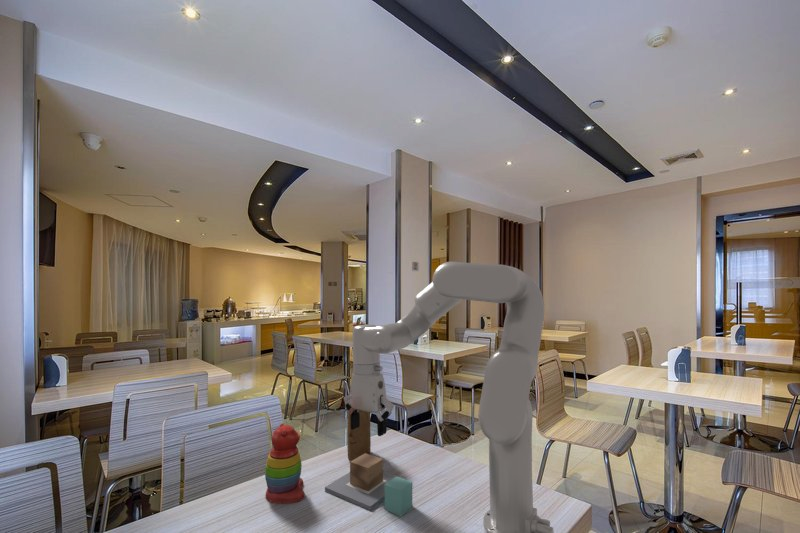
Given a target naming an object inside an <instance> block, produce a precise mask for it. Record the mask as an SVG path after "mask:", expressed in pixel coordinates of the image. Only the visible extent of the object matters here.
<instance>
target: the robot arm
mask: <svg viewBox="0 0 800 533" xmlns="http://www.w3.org/2000/svg"><path fill="white" fill-rule="evenodd" d="M465 300H466V301H475V302H486V303H491V304H492V303H493V304H494V303H495V304H504V303H505V304H506V314H505V318H504V322H503V331H502V336H501V341H500V345H499V346H498V349H497V350H495V351H494V352H493V353H492V354H491V355H490V357H489V359H488V361H487V363H486V367H485V371H484V377H483V382H482V389H481V395H480V398H479V399H480V401H479V406H478V418H477V419H478V424H479V427H480V429H481V432H482V433H483V435H484V436H485V437H486V438H487V440H488V462H489V463H488V467H489V468H488V469H489V474H488V475H489V476H488V477H489V510H488V511H486V512H485V514H484V515H483V527H484V530H485V531H486V533H554V527H552V526H551V521H550V520H548V519H544V518H541V517H540V515H538V509H537V508H536V507H534V497H533V492H534V491H533V488H534V487H533V445H532V443H533V407H532V406H533V405H532V403H531V400H530V393H531V392H530V391H531V388H532V387H531V386H532V381H533V380H534V378H535V376H536V375H537V372H538V365H539V364H538V363H539V362H538V361H539V354H540V347H541V340H542V333H543V325H544V319H545V301H544V297H543V294H542V291H541V289H540V287H539V286H538V284H537V283H536V281H535V280H533V278H531V277H530V276H529V275H528V274H526V272H524V271H523V270H521V269H519V268H516V267H514V266H511V265H506V264H499V263H498V264H497V263H480V262H478V263H477V262H476V263H475V262H462V261H461V262H460V261H447V262H443V263H442V264H440V265H439V266H438V267H436V269H435V271H434V272H433V275H432V281H431V282H430V283H429V284H428V285H427V286H425V287H424V288H423V289H422V290H421V291H420V292H418V293H417V294H416V295H415V296H414V303H415V304H414V306H413V308H412V309H411V310H410V311H409V312H408V313H407V314H406V315H404V316H403V317H402V318H401V319H400V320H398V321H397V322H393V323H388V324H382V325H376V324H359V325H355V326H354V327H353V328H352V365H353V367H352V368H353V369H352V370H353V372H352V373H351V381H350V388H349V389H350V391H349V392H350V393H349V394H347V395H345V396H344V397H343V402H344V405H345V408H346V410H347V411H348V412H347V414H348V413H349V415H350V419H351V429H352V430H353V429H355V428H358V427H359V426H360V417H359V412H358V410H361V411H366V412H370V414H371V413H372V414H375V415H376V417H377V419H378V420H377V421H376V423H377V424H376V426H377V436H378V437H382V436H383V435H386V434H387V432H388V431H387V430H388V429H387V428H388V424H387V419H389V417H390V416H391V414H392V412H393V410H394V407H395V404H393V402H392V401H391V400H389V399H388V397H387V390H386V383H385V377H384V375H383V373H381V372H382V371H383V369H384V368H383V366H381V360H380V359H381V358H380V357H381V356H380V354H384V355H385V354H390V353H394V352H395V351H399V350H403V349H404V348H407V347H409V346H411V344H413V343H414V342H415V341H417V340H418V339H419V338H421V336H423V335H424V334H426V332H427V331H429V329H430V328H431V327H432V326H434V324H436V322H437V321H438V320H440V319H441V318H442V317H444V315H446V314H447V313H448V312H449V311H451V310H452V309H453V308H454V307H456V306H457V305H458V304H460V303H461V302H462V301H465Z"/></svg>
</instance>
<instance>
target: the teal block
mask: <svg viewBox="0 0 800 533" xmlns="http://www.w3.org/2000/svg"><path fill="white" fill-rule="evenodd" d="M397 476H398V475H396V477H394V478H393V479H392V480H390V481H389V482H388V483H386V484H385V500H384V510H385V511H388V512H391V513H393V514H395V515H397V516H400V517H402V516H403V515H404V514H406V512H408V511H409V510H410V509H411V508H412V507H413V481H410V480H407V479H406V478H405V479H406V480H405V479H403V478H404V477H402V478H400V477H401V476H399V477H397Z"/></svg>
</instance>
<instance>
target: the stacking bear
mask: <svg viewBox="0 0 800 533" xmlns="http://www.w3.org/2000/svg"><path fill="white" fill-rule="evenodd" d="M300 439H301V434H300V433H299V432H298V431H296V430H295V428H294V427H293V426H291V425H289V424H288V425H287V424H286V425H285V424H284V422H283V423H280V425H279V427H277V428H276V429H275V430H274V431H273V432H272V435H271V444H272V447H273V448H272V449H271V450H270V451H269V454H268V456H267V459H266V463H265V469H264V476H265V482H266V487H267V488H266V491H265V498H266V499H265V500H267V501H268V502H271V503H273V504H294V503H298V502H301V501H302V500H304V499H305V496H306V494H305V491H304V490H303V489H302V487H303V486H304V480H303V478H301V474H302V458H301V455H300V454H301V453H300V451H299V448H298V447H297V444H298V443H299V442H300Z"/></svg>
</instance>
